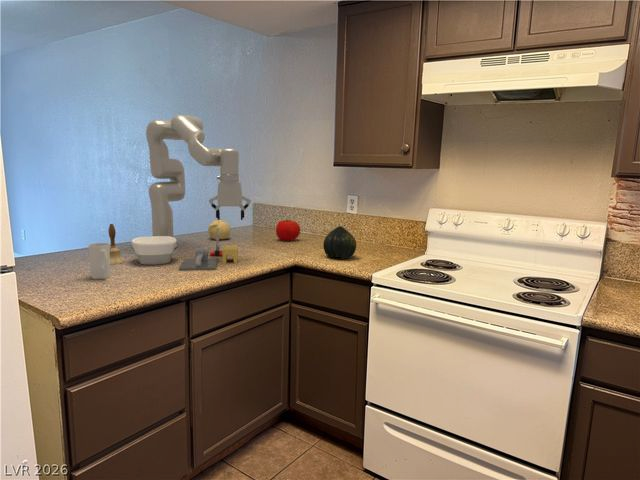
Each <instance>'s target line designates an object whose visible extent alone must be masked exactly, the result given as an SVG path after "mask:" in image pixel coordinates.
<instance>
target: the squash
mask: <svg viewBox="0 0 640 480" xmlns="http://www.w3.org/2000/svg"><path fill="white" fill-rule="evenodd" d="M322 245H323V252H324V253H325V255H326V256H327V257H329V258H337V257H338V258H339V257H340V259H342V260H346V259H349V258H351V257H353V256H354V254H355V253H356V250H357V240H356V238H355V236H354V235H353V234H352V233H350V232H349V231H348V230H347V229H346V228H345V227H343V226H342V225H339V226H337V227H335V228H333V229H332V230H331V231H330V232H329V233H328V234H327V235H326V237H325V238H324V240H323V244H322Z"/></svg>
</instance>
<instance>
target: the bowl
mask: <svg viewBox="0 0 640 480" xmlns="http://www.w3.org/2000/svg"><path fill="white" fill-rule="evenodd" d="M177 242H178V241H177V239H176V238H175V237H174V236H173V237H170V236H153V235H152V236H140V237H138V236H137V237H135V238H133V239H132V240H131V245H132V247H133V251H134V252H135V254H136V257H137V259H138V262H139V263H140V264H141V265H144V266H145V265H146V266H147V265H151V266H152V265H153V266H156V265H165V264H169V263H170V262H171V259H172V256H173V254H174V251H175V249H176V248H175V245H176V244H177Z"/></svg>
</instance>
